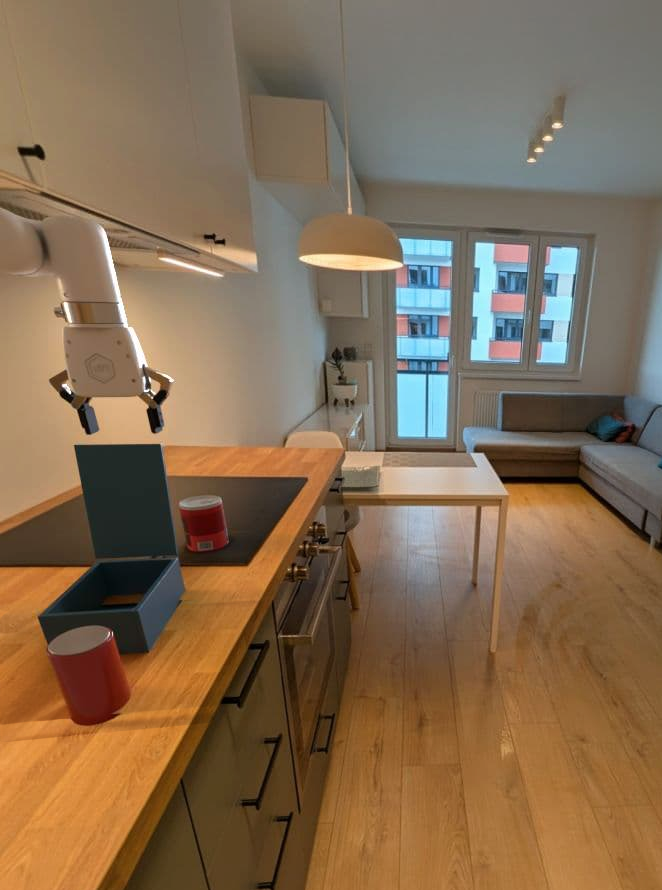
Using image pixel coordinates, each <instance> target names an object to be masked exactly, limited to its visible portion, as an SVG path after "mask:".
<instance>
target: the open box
mask: <svg viewBox="0 0 662 890" xmlns="http://www.w3.org/2000/svg"><path fill="white" fill-rule="evenodd" d="M185 592H186V586H185V581H184V577H183V573H182V568H181V565H180V559H179V557H177V556H176V557H157V558H156V557H155V558H153V557H151V558H132V559H129V558H128V559H107V560H97V561H95V563H93V564H92V565H91V566H90V567H89V568H88V569H87V570H86V571H85V572H84V573H82V575H81V576H80V577H78V579H76V581H74V582H73V583H72V584H71V585H70V586H69V587H68V588H66V590H64V591H63V592H62V593H61V594H60V595H59V596H58V597H57V598H55V600H54V601H53V602H52V603H50V604H49V605H48V606H47V607H46V608H45V609H44V610H43V611H42V612H41V613H39V615H37V620H38V623H39V625H40V627H41V631H42V633H43V636H44V639H45V641H46V643H47V646H48V645H49V644H50V643H51V642H52V641H53V640H54V639H55V638H56V637H58V636H59V635H61V634H63V633H65V632H68V631H70V630H73V629H76V628H80V627H85V626H103V627H107V628H109V629H111V630H112V632H113V635H114V638H115V641H116V645H117V648H118V651H119V654H120V656H121V655H134V654H135V655H137V654H148V653H150V652H151V650H152V649H153V647H154V646H155V645H156V643H157V641H158V639H159V638H160V636H161V635H162V633H163V631H164V630H165V629H166V627H167V625H168V623H169V622H170V620H171V618H172V617H173V616H174V614H175V613H176V610H177V609H178V607H179V606H180V604H181V603H182V599H181V598H182V596H183V595H184V594H185ZM138 595H143V596H142V598H141V599H140V600H139V602H127V603H111V604H109V603H108V604H105V603H106V602H107V601H108V599H110V598H111V597H118V596H120V597H122V596H138Z"/></svg>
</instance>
